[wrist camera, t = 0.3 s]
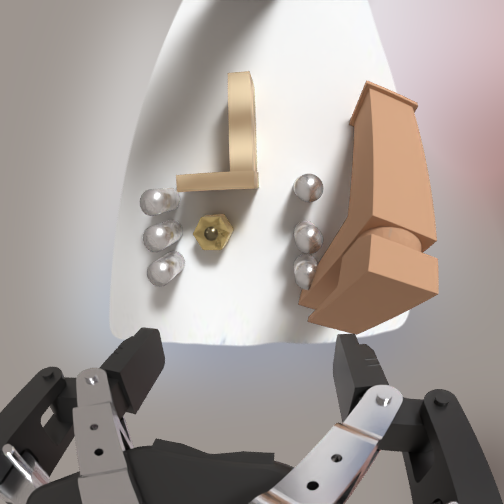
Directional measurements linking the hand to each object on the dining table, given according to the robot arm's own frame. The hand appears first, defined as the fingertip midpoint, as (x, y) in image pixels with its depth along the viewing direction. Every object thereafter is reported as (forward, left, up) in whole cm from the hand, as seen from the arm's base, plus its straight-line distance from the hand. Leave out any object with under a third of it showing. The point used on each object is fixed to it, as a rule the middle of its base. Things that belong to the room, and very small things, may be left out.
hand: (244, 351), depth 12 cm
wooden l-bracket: (-13, -6, -27) cm, 31 cm away
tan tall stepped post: (-4, +11, -28) cm, 30 cm away
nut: (-1, -7, -27) cm, 28 cm away
